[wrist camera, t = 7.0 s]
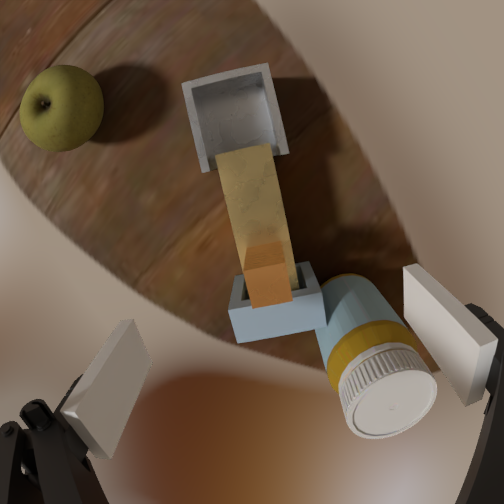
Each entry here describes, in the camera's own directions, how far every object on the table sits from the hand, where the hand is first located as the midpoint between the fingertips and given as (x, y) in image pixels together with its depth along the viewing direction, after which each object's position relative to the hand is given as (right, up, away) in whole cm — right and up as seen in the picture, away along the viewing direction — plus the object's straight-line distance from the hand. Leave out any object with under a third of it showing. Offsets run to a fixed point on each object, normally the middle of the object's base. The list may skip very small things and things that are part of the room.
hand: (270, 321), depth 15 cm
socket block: (+1, 0, +16) cm, 16 cm away
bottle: (+8, -2, +17) cm, 19 cm away
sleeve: (-2, +14, +12) cm, 19 cm away
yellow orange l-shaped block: (0, +6, +13) cm, 14 cm away
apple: (-17, +17, +12) cm, 27 cm away
